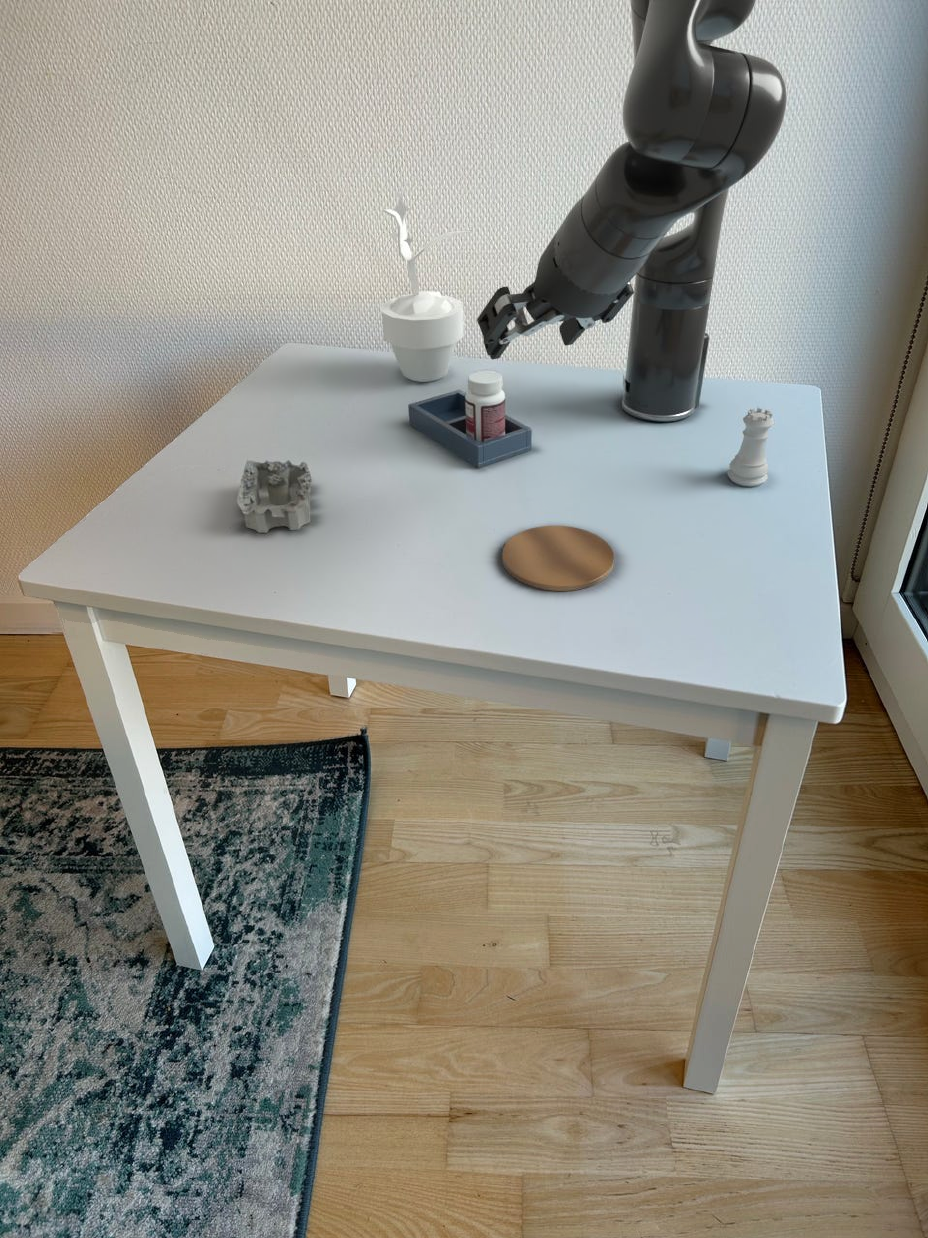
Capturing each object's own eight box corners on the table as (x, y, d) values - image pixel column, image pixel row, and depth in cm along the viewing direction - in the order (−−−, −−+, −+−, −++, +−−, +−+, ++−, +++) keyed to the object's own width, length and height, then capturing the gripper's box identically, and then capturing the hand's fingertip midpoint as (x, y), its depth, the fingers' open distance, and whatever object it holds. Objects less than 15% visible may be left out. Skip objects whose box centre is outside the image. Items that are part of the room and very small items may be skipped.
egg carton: (311, 531, 91) (306, 497, 88) (239, 536, 90) (232, 501, 88) (316, 482, 99) (311, 450, 96) (250, 486, 98) (244, 454, 96)
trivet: (564, 519, 92) (564, 514, 91) (637, 565, 84) (637, 560, 84) (480, 552, 87) (480, 547, 86) (550, 605, 79) (550, 599, 79)
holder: (460, 409, 115) (459, 389, 113) (531, 450, 105) (532, 428, 103) (409, 424, 111) (408, 404, 109) (478, 468, 101) (478, 446, 99)
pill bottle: (509, 437, 106) (510, 371, 101) (498, 453, 103) (498, 386, 98) (473, 432, 108) (472, 366, 102) (460, 448, 104) (459, 381, 99)
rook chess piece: (770, 473, 99) (784, 407, 94) (763, 491, 96) (778, 423, 91) (730, 466, 100) (743, 401, 96) (722, 483, 97) (735, 416, 92)
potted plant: (376, 388, 121) (360, 193, 106) (395, 358, 130) (383, 174, 115) (465, 393, 119) (461, 195, 104) (477, 362, 128) (476, 176, 113)
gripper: (651, 202, 76) (576, 300, 91) (508, 221, 71) (454, 320, 86) (680, 280, 75) (599, 365, 91) (537, 304, 71) (477, 389, 86)
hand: (528, 343), depth 88 cm, fingers open, 8 cm apart
